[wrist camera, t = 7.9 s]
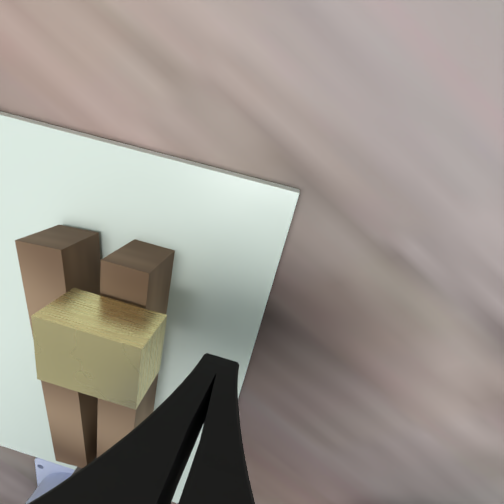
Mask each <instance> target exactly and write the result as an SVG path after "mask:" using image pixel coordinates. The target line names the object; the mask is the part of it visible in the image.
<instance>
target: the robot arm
mask: <svg viewBox="0 0 504 504" xmlns="http://www.w3.org/2000/svg"><path fill="white" fill-rule="evenodd" d="M238 370H239V364H238V362H236V361H232V360H229V359H226V358H222V357H219V356H216V355H212V354H209V353H206V354H204V355H203V357H202V358H201V360H200V361H199V362H198V364H197V365H196V366H195V368H194V369H193V370H192V371H191V373H190V374H189V375H188V376H187V377H186V379H185V380H184V381H183V382H182V383H181V384H180V385H179V386H178V387H177V388H176V389H175V391H174V392H173V393H172V394H171V395H170V396H169V397H168V398H167V399H166V400H165V401H164V402H163V403H162V404H161V405H160V406H159V407H158V408H157V409H155V410H154V411H153V412H152V413H151V414H150V415H149V416H148V417H147V418H146V419H145V420H144V421H142V422H141V423H140V424H139V425H138V426H137V427H136V428H134V429H133V430H132V431H131V432H130V433H128V434H127V435H126V436H125V437H123V438H122V439H121V440H120V441H118V442H117V443H116V444H115V445H113V446H112V447H111V448H109V449H108V450H107V451H106V452H104V453H103V454H102V455H100V456H99V457H98V458H96V459H95V460H93V461H92V462H91V463H89V464H88V465H86V466H85V467H83V468H82V469H81V470H79V471H78V472H76V473H75V474H73V472H74V471H75V470H74V469H71V468H68V467H65V466H62V465H59V464H56V463H53V462H50V461H46V460H43V459H40V458H37V457H36V458H35V468H36V476H37V485H38V487H37V489H36V490H35V491H34V493H33V494H32V495H31V497H30V498H29V499H28V501H27V502H26V503H25V504H171V502H172V499H173V496H174V494H175V491H176V488H177V486H178V483H179V481H180V479H181V476H182V474H183V472H184V469H185V467H186V464H187V462H188V460H189V457H190V455H191V452H192V450H193V448H194V445H195V443H196V440H197V438H198V436H199V433H200V431H201V428H202V426H203V429H202V433H201V438H200V442H199V445H198V448H197V450H196V453H195V456H194V459H193V462H192V465H191V468H190V471H189V474H188V477H187V480H186V483H185V486H184V489H183V492H182V494H181V497H180V500H179V503H178V504H255V502H254V498H253V494H252V490H251V485H250V481H249V476H248V471H247V466H246V461H245V456H244V450H243V443H242V436H241V429H240V420H239V408H238ZM203 424H204V425H203ZM72 474H73V475H72ZM71 475H72V476H71Z"/></svg>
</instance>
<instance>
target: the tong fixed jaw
mask: <svg viewBox="0 0 504 504" xmlns="http://www.w3.org/2000/svg"><path fill="white" fill-rule="evenodd" d="M174 254H175V250H172V249H168V248H164V247H161V246H157V245H154V244H150V243H147V242H143V241H139V240H136V239H134V240H132V241H131V242H129V243H128V244H126V245H124V246H123V247H121V248H119V249H118V250H116V251H114V252H113V253H111V254H109V255H108V256H106V257H104V258H103V259H101V269H100V296H104V297H107V298H111V299H114V300H118V301H121V302H124V303H128V304H131V305H135V306H138V307H142V308H145V309H148V310H152V311H155V312H159V313H162V314H166V313H167V306H168V298H169V291H170V284H171V276H172V269H173V261H174ZM158 373H159V372H158ZM157 381H158V374H157V375H156V377H155V379H154V380H153V382H152V384H151V385H150V387H149V389H148V390H147V392H146V394H145V395H144V397H143V399H142V400H141V402H140V404H139V405H138V407H137V409H136V410H135V409H131V408H128V407H125V406H122V405H119V404H115V403H112V402H109V401H106V400H103V399H99V398H98V415H97V455H96V457H95V458H94V460H95V459H96V458H98V457H99V456H100V455H102V454H103V453H104V452H106V451H107V450H108V449H109V448H111V447H112V446H113V445H115V444H116V443H117V442H118V441H120V440H121V439H122V438H123V437H125V436H126V435H127V434H128V433H130V432H131V431H132V430H133V429H134V428H136V427H137V426H138V425H139V424H140V423H141V422H142V421H144V420H145V419H146V418H147V417H148V416H149V415H150V414H151V413H152V412H153V410H154V403H155V396H156V388H157ZM81 469H82V468H80V467H77V468H76V469H75V471H74V472H73V474H75V473H76V472H78V471H79V470H81ZM73 474H72V475H73ZM72 475H71V476H72Z"/></svg>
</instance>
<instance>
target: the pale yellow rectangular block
mask: <svg viewBox="0 0 504 504" xmlns="http://www.w3.org/2000/svg"><path fill="white" fill-rule="evenodd" d="M31 320H32V331H33V341H34V351H35V362H36V372H37V379H38V380H42V381H45V382H48V383H51V384H54V385H58V386H61V387H64V388H67V389H70V390H74V391H77V392H80V393H83V394H87V395H90V396H93V397H96V398H99V399H103V400H106V401H109V402H112V403H115V404H119V405H122V406H125V407H128V408H131V409H135V410H136V409H137V407H138V405H139V404H140V402H141V400H142V399H143V397H144V395H145V394H146V392H147V390H148V389H149V387H150V385H151V384H152V382H153V380H154V379H155V377H156V375H157V374H158V372H159V370H160V365H161V357H162V350H163V342H164V335H165V328H166V320H167V315H166V314H162V313H159V312H155V311H152V310H148V309H145V308H142V307H138V306H135V305H131V304H128V303H124V302H121V301H118V300H114V299H111V298H107V297H104V296H100V295H97V294H94V293H90V292H87V291H83V290H80V289H76V288H73V289H71V290H70V291H68V292H67V293H65V294H63V295H62V296H60V297H59V298H57V299H56V300H54V301H53V302H51V303H50V304H48V305H47V306H45V307H44V308H42V309H41V310H39V311H38V312H36V313H35V314H33V315H32V316H31Z"/></svg>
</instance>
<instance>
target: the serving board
mask: <svg viewBox="0 0 504 504" xmlns="http://www.w3.org/2000/svg"><path fill="white" fill-rule="evenodd" d="M298 197H299V189H296V188H292V187H289V186H285V185H281V184H277V183H273V182H269V181H266V180H262V179H258V178H254V177H250V176H246V175H243V174H239V173H235V172H231V171H227V170H224V169H220V168H216V167H212V166H208V165H204V164H201V163H197V162H193V161H189V160H185V159H181V158H178V157H174V156H170V155H166V154H162V153H158V152H155V151H151V150H147V149H143V148H139V147H136V146H132V145H128V144H124V143H120V142H116V141H113V140H109V139H105V138H101V137H97V136H93V135H90V134H86V133H82V132H78V131H74V130H71V129H67V128H63V127H59V126H55V125H51V124H48V123H44V122H40V121H36V120H32V119H28V118H25V117H21V116H17V115H13V114H9V113H5V112H2V111H0V445H1V446H4V447H7V448H10V449H13V450H16V451H19V452H22V453H25V454H28V455H31V456H34V457H37V458H40V459H43V460H46V461H50V462H53V463H56V464H59V465H62V466H65V467H68V468H71V469H74V470H75V469H76V468H77V466H73V465H69V464H66V463H62V462H58V461H56V459H55V454H54V449H53V443H52V438H51V432H50V427H49V422H48V416H47V411H46V406H45V400H44V395H43V389H42V384H41V380H38V379H37V372H36V362H35V351H34V341H33V336H32V330H31V325H30V319H29V314H28V309H27V303H26V298H25V292H24V287H23V282H22V276H21V271H20V266H19V260H18V255H17V249H16V244H15V240H17V239H20V238H23V237H26V236H28V235H31V234H34V233H37V232H40V231H43V230H45V229H48V228H51V227H54V226H57V225H64V226H69V227H74V228H79V229H84V230H89V231H94V232H99V244H100V260H101V259H103V258H104V257H106V256H108V255H109V254H111V253H113V252H114V251H116V250H118V249H119V248H121V247H123V246H124V245H126V244H128V243H129V242H131V241H132V240H134V239H136V240H139V241H143V242H147V243H150V244H154V245H157V246H161V247H164V248H168V249H172V250H175V254H174V261H173V269H172V276H171V284H170V291H169V298H168V306H167V313H166V315H167V320H166V328H165V335H164V342H163V350H162V357H161V365H160V370H159V373H158V381H157V388H156V396H155V403H154V410H155V409H157V408H158V407H159V406H160V405H161V404H162V403H163V402H164V401H165V400H166V399H167V398H168V397H169V396H170V395H171V394H172V393H173V392H174V391H175V389H176V388H177V387H178V386H179V385H180V384H181V383H182V382H183V381H184V380H185V379H186V377H187V376H188V375H189V374H190V373H191V371H192V370H193V369H194V368H195V366H196V365H197V364H198V362H199V361H200V360H201V358H202V357H203V355H204V354H206V353H209V354H212V355H216V356H219V357H222V358H226V359H229V360H232V361H236V362H238V364H239V370H238V398H239V394H240V391H241V388H242V384H243V381H244V377H245V374H246V371H247V367H248V364H249V361H250V357H251V354H252V351H253V347H254V344H255V341H256V337H257V334H258V331H259V327H260V324H261V321H262V317H263V314H264V311H265V307H266V304H267V300H268V297H269V294H270V290H271V287H272V284H273V280H274V277H275V274H276V270H277V267H278V264H279V260H280V257H281V254H282V250H283V247H284V244H285V240H286V237H287V233H288V230H289V227H290V223H291V220H292V217H293V213H294V210H295V207H296V203H297V200H298ZM154 410H153V411H154ZM203 425H204V424H203ZM202 429H203V426H202V428H201V431H200V433H199V436H198V438H197V440H196V443H195V445H194V448H193V450H192V452H191V455H190V457H189V460H188V462H187V464H186V467H185V469H184V472H183V474H182V476H181V479H180V481H179V483H178V486H177V488H176V491H175V494H174V496H173V499H172V502H175V503H179V500H180V497H181V494H182V492H183V489H184V486H185V483H186V480H187V477H188V474H189V471H190V468H191V465H192V462H193V459H194V456H195V453H196V450H197V448H198V445H199V442H200V438H201V433H202Z"/></svg>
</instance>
